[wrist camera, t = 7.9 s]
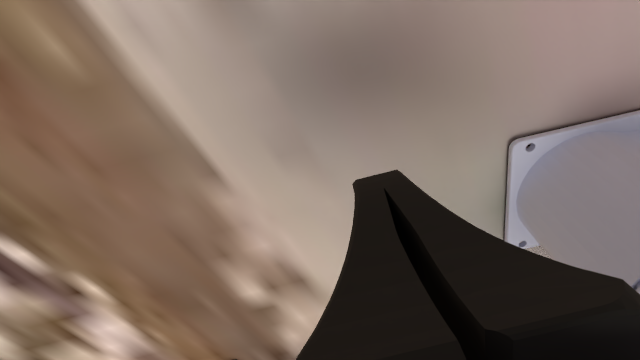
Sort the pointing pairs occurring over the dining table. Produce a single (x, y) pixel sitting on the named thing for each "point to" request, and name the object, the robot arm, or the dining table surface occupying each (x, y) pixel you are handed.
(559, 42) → the dining table surface
